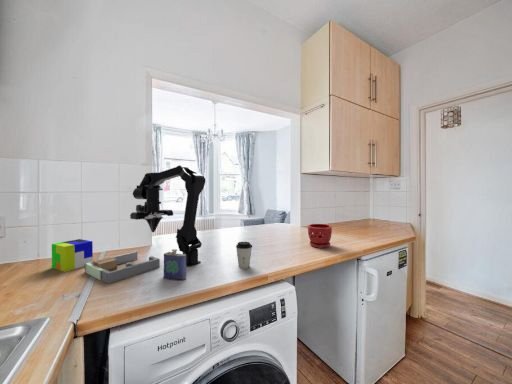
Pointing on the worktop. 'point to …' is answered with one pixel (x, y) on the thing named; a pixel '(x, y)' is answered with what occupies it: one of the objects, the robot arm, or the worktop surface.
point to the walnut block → (106, 264)
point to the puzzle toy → (71, 254)
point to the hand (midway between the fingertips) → (153, 232)
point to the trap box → (124, 272)
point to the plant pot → (319, 235)
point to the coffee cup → (244, 254)
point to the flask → (174, 266)
